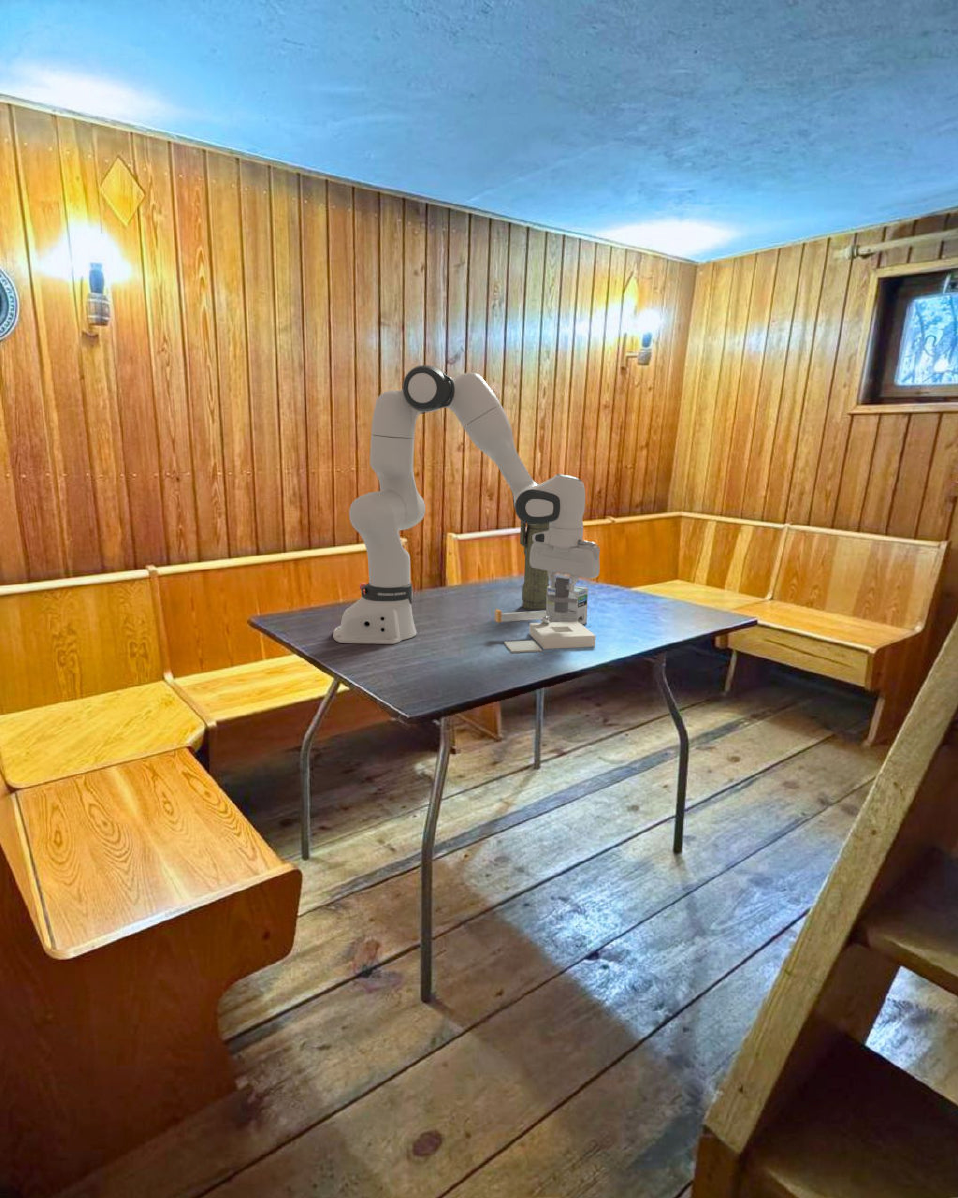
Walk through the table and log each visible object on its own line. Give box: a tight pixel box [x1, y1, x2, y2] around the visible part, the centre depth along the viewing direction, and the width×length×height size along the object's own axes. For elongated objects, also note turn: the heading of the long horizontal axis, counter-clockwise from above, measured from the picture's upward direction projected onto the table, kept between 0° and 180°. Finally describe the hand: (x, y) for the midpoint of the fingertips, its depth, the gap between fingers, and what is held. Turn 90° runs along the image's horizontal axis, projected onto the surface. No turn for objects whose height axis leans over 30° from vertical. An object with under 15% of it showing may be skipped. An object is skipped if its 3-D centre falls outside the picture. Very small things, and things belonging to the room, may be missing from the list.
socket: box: [528, 621, 596, 650], centre depth 184 cm, size 14×14×3 cm
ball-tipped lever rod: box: [494, 608, 550, 624], centre depth 186 cm, size 16×2×4 cm, turn 107°
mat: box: [503, 640, 543, 654], centre depth 177 cm, size 8×8×1 cm
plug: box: [547, 576, 577, 613], centre depth 182 cm, size 7×7×9 cm
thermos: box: [519, 520, 551, 611], centre depth 215 cm, size 9×12×35 cm
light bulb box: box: [545, 585, 589, 626], centre depth 201 cm, size 11×7×11 cm, turn 57°
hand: (562, 589), depth 181 cm, fingers closed on plug, 4 cm apart
